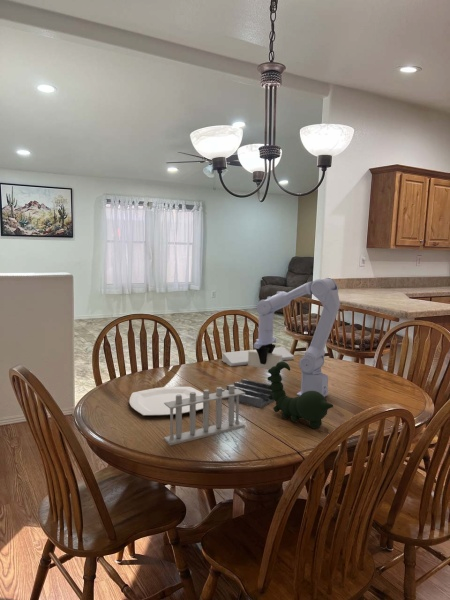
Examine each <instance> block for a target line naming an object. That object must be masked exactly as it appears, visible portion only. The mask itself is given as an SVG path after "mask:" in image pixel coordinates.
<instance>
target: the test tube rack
mask: <svg viewBox="0 0 450 600" xmlns="http://www.w3.org/2000/svg"><path fill="white" fill-rule="evenodd" d="M228 385H229V390H228V391H223V392H222V389H223V387H221V386H217V387H216V389H215V392H213V393H210V389H203V391H202V393H203V395H202V396H197V397H196V392H190V398H186V399H182V395H180V394H178V395H176V401H171V402H165V403H164V404H165V405H166V406H167V407H169V408H170V415H169V418H170V419H169V424H170V426H169V428H170V429H169V432H170V433H169V434H170V435H168V436H164V437H163V441H165V442H166V443H167V444H168V445H169V446H174V445H179V444H182V443H186V442H191V441H195V440H198V439H201V438H202V439H203V438H206V437H211V436H215V435H217V434H218V435H220V434H223V433H227V432H231V431H234V430H237V429H242V428H245V427H246V425H245V424H244V423H243V422H241V421H239V414H240V412H239V410H240V408H239V407H240V405H239V404H240V402H239V395H242V394H245V392H243V391H241V390H239V389H235V387H234V384H228ZM234 396H236V401H234ZM227 397H229V400H228V410H227V411H228V412H227V413H228V414H227V416H228V417H227V418H228V421H227V422H223V420H222V419H223V418H222V417H223V416H222V415H223V399H225V398H227ZM211 401H215V424H213V425H210V402H211ZM202 402H203V409H202V427H201V428H198V429H197V428H196V426H197V423H196V420H197V418H196V416H197V415H196V414H197V413H196V412H197V411H196V404H197V403H202ZM188 405H190V412H189V431H185V432H183V431H182V430H183V427H182V426H183V414H182V407H183V406H188ZM173 408H176V415H175V433H174V415H173ZM209 425H210V426H209Z"/></svg>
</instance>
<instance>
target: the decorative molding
mask: <svg viewBox="0 0 450 600" xmlns="http://www.w3.org/2000/svg"><path fill="white" fill-rule="evenodd" d="M250 350H251V349H248V350H239V351H227V352H222V358H221V362H222V361H223V362H222V363H223V364H224V363H225V364H227V366H229V367H238V366H244V365H245V366H248V351H250ZM254 350H255V351H256V349H254ZM272 354H278V355H282V362H284V361H291V360H293V359H294V358H295V355H293V353H291V352H290V351H289V350H288V349H287V348H285V347H284V346H277V347H276V346H275V348H274V350H273V352H272Z"/></svg>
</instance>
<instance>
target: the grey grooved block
mask: <svg viewBox="0 0 450 600" xmlns="http://www.w3.org/2000/svg"><path fill="white" fill-rule="evenodd" d="M229 385H230V384H228V385H226V389H225V388H222V392H223V391H228V390H229ZM233 385H234V387H235V389H239V390H241V391H243V392H245V394H242V395H239V404H240V403H241V404H243V405H248V406H252V407H256V408H259V409H262V408H264V407H265V406H267V405H269V404H270V403H273V402H274V400H270V399H269V395H272V390H268V386H271V384H269V383H264V382H259V381H255V380H250V379H246V378H241V379H240V382H238V381H234V382H233ZM224 400H228V401H229V397H227V398H224ZM234 402H236V396H234Z"/></svg>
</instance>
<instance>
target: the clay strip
mask: <svg viewBox="0 0 450 600" xmlns="http://www.w3.org/2000/svg"><path fill="white" fill-rule="evenodd" d="M249 350H250V351H248V365H247V366H250V367H254V368H259V369H264V370H269V369H271V368H272V367H273V366H276V364H277V363H278V362H283V361H282V355H278V354H272V353H268V354H267V360H266V364H260V360H259V355H258V353H257V351H255V350H256V349H249ZM281 371H282V370H280V372H281Z"/></svg>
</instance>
